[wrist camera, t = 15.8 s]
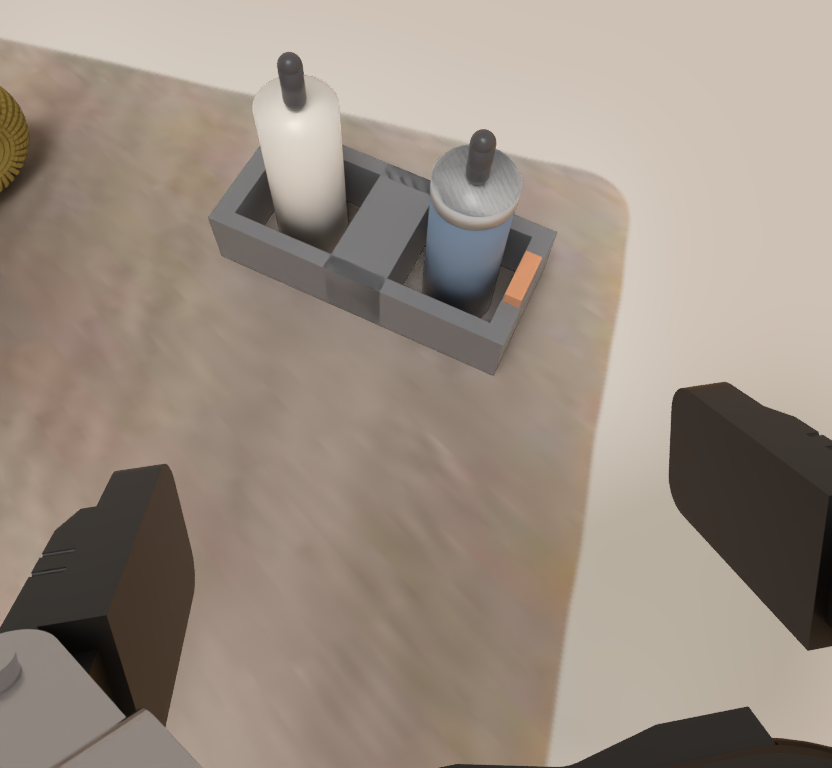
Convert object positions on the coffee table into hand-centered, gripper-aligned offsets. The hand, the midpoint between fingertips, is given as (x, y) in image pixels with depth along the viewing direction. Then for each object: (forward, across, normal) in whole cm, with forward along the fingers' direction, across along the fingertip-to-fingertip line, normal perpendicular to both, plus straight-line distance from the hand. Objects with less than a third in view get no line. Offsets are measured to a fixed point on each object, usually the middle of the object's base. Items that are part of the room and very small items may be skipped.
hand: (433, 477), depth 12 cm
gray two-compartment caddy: (+36, -3, +4) cm, 36 cm away
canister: (+34, -7, +6) cm, 35 cm away
